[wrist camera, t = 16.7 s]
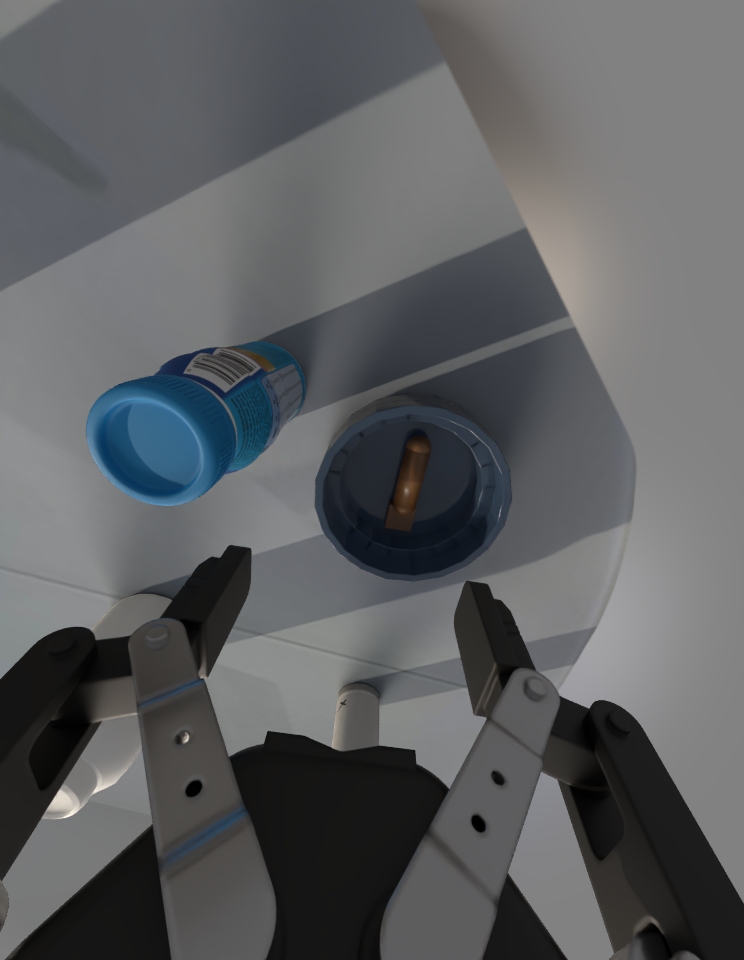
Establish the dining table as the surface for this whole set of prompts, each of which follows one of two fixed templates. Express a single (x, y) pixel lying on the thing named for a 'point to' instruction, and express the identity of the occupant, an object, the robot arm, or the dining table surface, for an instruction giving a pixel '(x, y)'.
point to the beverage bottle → (194, 420)
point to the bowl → (443, 496)
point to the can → (113, 737)
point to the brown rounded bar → (408, 484)
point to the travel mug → (356, 718)
